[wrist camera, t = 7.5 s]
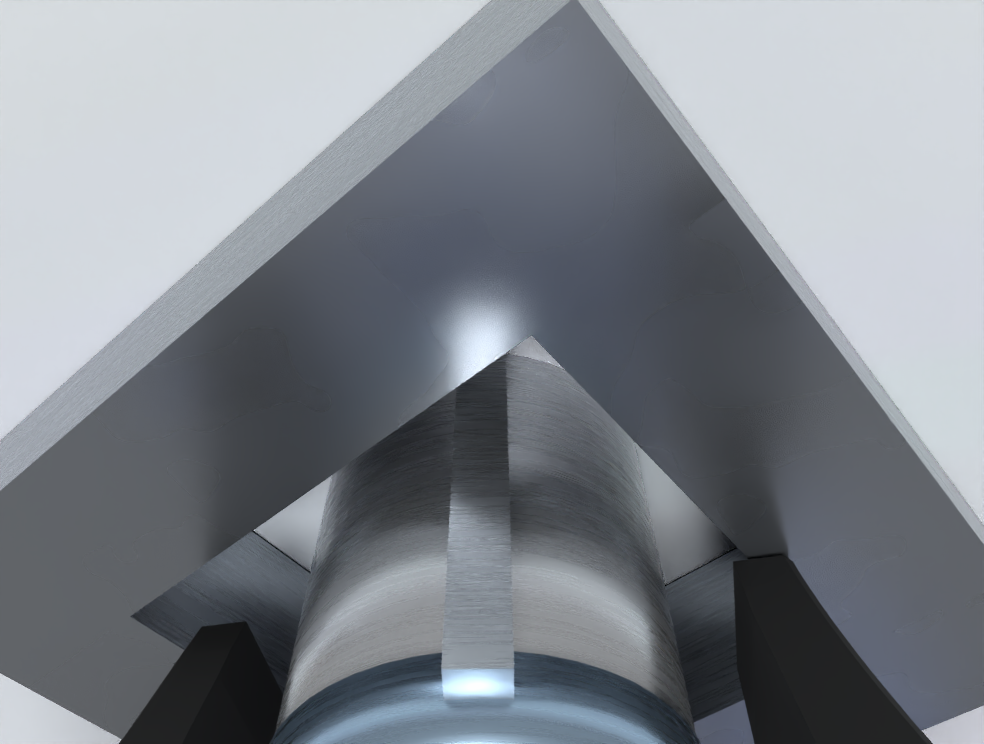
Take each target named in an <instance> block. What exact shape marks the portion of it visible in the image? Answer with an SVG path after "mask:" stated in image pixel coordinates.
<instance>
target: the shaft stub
mask: <svg viewBox="0 0 984 744" xmlns="http://www.w3.org/2000/svg"><path fill="white" fill-rule="evenodd" d="M270 744H701V743H700V740H699V739H698V737H697V736H696V732H695V727H694V722H693V718H692V713H691V708H690V703H689V699H688V694H687V689H686V684H685V680H684V675H683V670H682V665H681V661H680V656H679V651H678V646H677V642H676V637H675V632H674V627H673V623H672V618H671V613H670V608H669V604H668V599H667V594H666V589H665V585H664V580H663V575H662V570H661V566H660V561H659V556H658V552H657V547H656V542H655V537H654V533H653V528H652V523H651V518H650V514H649V509H648V504H647V499H646V495H645V490H644V485H643V480H642V476H641V471H640V466H639V461H638V457H637V452H636V447H635V444H634V441H633V439H632V438H631V437H630V436H629V435H628V434H627V433H626V432H625V431H624V430H623V429H622V428H621V427H620V426H619V425H618V424H617V423H616V422H615V421H614V420H613V419H612V418H611V417H610V416H609V414H608V413H607V412H606V411H605V410H604V409H603V408H602V407H601V406H600V405H599V404H598V403H597V402H596V401H595V400H594V399H593V398H592V397H591V396H590V395H589V394H588V393H587V392H586V391H585V390H584V389H583V388H582V387H581V386H580V385H579V384H578V383H577V381H576V380H575V379H574V378H573V377H572V376H571V375H570V374H569V373H568V372H567V371H566V370H564V369H561V368H559V367H556V366H554V365H551V364H549V363H546V362H542V361H538V360H534V359H531V358H527V357H521V356H514V355H507V354H506V353H505V354H504V355H502V356H501V357H499V358H498V359H497V360H495V361H494V362H492V363H491V364H489V365H488V366H487V367H485V368H484V369H482V370H481V371H479V372H478V373H477V374H475V375H474V376H472V377H471V378H469V379H468V380H467V381H465V382H464V383H462V384H461V385H459V386H458V387H457V388H455V389H454V390H452V391H451V392H449V393H448V394H447V395H445V396H444V397H442V398H441V399H439V400H438V401H437V402H435V403H434V404H432V405H431V406H430V407H428V408H427V409H425V410H424V411H422V412H421V413H420V414H418V415H417V416H415V417H414V418H412V419H411V420H410V421H408V422H407V423H405V424H404V425H402V426H401V427H400V428H398V429H397V430H395V431H394V432H392V433H391V434H390V435H388V436H387V437H385V438H384V439H382V440H381V441H380V442H378V443H377V444H375V445H374V446H372V447H371V448H370V449H368V450H367V451H365V452H364V453H362V454H361V455H360V456H358V457H357V458H355V459H354V460H353V461H351V462H350V463H348V464H347V465H345V466H344V467H343V468H341V469H340V470H338V471H337V472H335V473H334V474H333V475H332V477H331V481H330V486H329V490H328V495H327V500H326V504H325V509H324V513H323V518H322V522H321V527H320V531H319V536H318V540H317V545H316V549H315V554H314V558H313V563H312V568H311V572H310V577H309V581H308V586H307V590H306V595H305V599H304V604H303V608H302V613H301V617H300V622H299V626H298V631H297V636H296V640H295V645H294V649H293V654H292V658H291V663H290V667H289V672H288V676H287V681H286V685H285V690H284V694H283V699H282V703H281V708H280V713H279V717H278V722H277V726H276V731H275V735H274V737H273V738H272V740H271V742H270Z"/></svg>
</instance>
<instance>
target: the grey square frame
mask: <svg viewBox="0 0 984 744" xmlns="http://www.w3.org/2000/svg"><path fill="white" fill-rule="evenodd" d="M531 335H532V336H533V337H534V338H535V339H536V340H537V341H538V342H539V343H540V344H541V345H542V346H543V347H544V348H545V350H546V351H547V352H548V353H549V354H550V355H551V356H552V357H553V358H554V359H555V360H556V361H557V362H558V363H559V364H560V365H561V366H562V367H563V368H564V369H565V370H566V371H567V372H568V373H569V374H570V375H571V376H572V377H573V378H574V379H575V380H576V381H577V383H578V384H579V385H580V386H581V387H582V388H583V389H584V390H585V391H586V392H587V393H588V394H589V395H590V396H591V397H592V398H593V399H594V400H595V401H596V402H597V403H598V404H599V405H600V406H601V407H602V408H603V409H604V410H605V411H606V412H607V413H608V414H609V416H610V417H611V418H612V419H613V420H614V421H615V422H616V423H617V424H618V425H619V426H620V427H621V428H622V429H623V430H624V431H625V432H626V433H627V434H628V435H629V436H630V437H631V438H632V439H633V440H634V441H635V442H636V443H637V444H638V445H639V446H640V447H641V449H642V450H643V451H644V452H645V453H646V454H647V455H648V456H649V457H650V458H651V459H652V460H653V461H654V462H655V463H656V464H657V465H658V466H659V467H660V468H661V469H662V470H663V471H664V472H665V473H666V474H667V475H668V476H669V477H670V478H671V479H672V480H673V482H674V483H675V484H676V485H677V486H678V487H679V488H680V489H681V490H682V491H683V492H684V493H685V494H686V495H687V496H688V497H689V498H690V499H691V500H692V501H693V502H694V503H695V504H696V505H697V506H698V507H699V508H700V509H701V510H702V511H703V512H704V513H705V515H706V516H707V517H708V518H709V519H710V520H711V521H712V522H713V523H714V524H715V525H716V526H717V527H718V528H719V529H720V530H721V531H722V532H723V533H724V534H725V535H726V536H727V537H728V538H729V539H730V540H731V541H732V542H733V543H734V544H735V545H736V546H737V547H738V548H737V549H735V550H733V551H731V552H729V553H727V554H725V555H723V556H722V557H720V558H718V559H716V560H714V561H712V562H710V563H708V564H706V565H705V566H703V567H701V568H699V569H697V570H695V571H693V572H691V573H690V574H688V575H686V576H684V577H682V578H680V579H678V580H676V581H674V582H673V583H671V584H669V585H667V586H665V589H666V594H667V599H668V604H669V608H670V613H671V618H672V623H673V627H674V632H675V637H676V642H677V646H678V651H679V656H680V661H681V665H682V670H683V675H684V680H685V684H686V689H687V694H688V699H689V703H690V708H691V713H692V718H693V722H694V727H695V732H696V736H697V737H698V739H699V740H700V743H701V744H754V739H753V735H752V731H751V727H750V722H749V718H748V714H747V709H746V705H745V701H744V696H743V692H742V687H741V683H740V678H739V674H738V670H737V655H736V629H735V604H734V578H733V561H741V560H749V559H757V558H766V557H774V556H782V555H784V556H786V557H787V558H789V559H790V560H792V561H793V562H794V564H795V566H796V567H797V569H798V571H799V572H800V574H801V575H802V577H803V578H804V580H805V581H806V583H807V584H808V586H809V587H810V589H811V590H812V592H813V593H814V595H815V596H816V598H817V599H818V601H819V602H820V604H821V605H822V606H823V608H824V609H825V611H826V612H827V613H828V615H829V616H830V618H831V619H832V620H833V622H834V623H835V624H836V626H837V627H838V628H839V630H840V631H841V632H842V634H843V635H844V636H845V638H846V639H847V640H848V642H849V643H850V644H851V646H852V647H853V648H854V650H855V651H856V652H857V654H858V655H859V656H860V657H861V659H862V660H863V661H864V662H865V664H866V665H867V666H868V668H869V669H870V670H871V671H872V673H873V674H874V675H875V676H876V677H877V679H878V680H879V681H880V682H881V683H882V685H883V686H884V687H885V688H886V689H887V691H888V692H889V693H890V694H891V695H892V697H893V698H894V699H895V700H896V701H897V703H898V704H899V705H900V706H901V707H902V709H903V710H904V711H905V712H906V713H907V715H908V716H909V717H910V718H911V719H912V721H913V722H914V723H915V724H916V725H917V726H918V727H919V729H920V730H921V731H922V730H924V729H927V728H929V727H932V726H934V725H936V724H939V723H941V722H944V721H946V720H949V719H951V718H954V717H956V716H958V715H961V714H963V713H966V712H968V711H971V710H973V709H976V708H978V707H980V706H983V705H984V525H983V524H982V522H981V521H980V520H979V518H978V517H977V516H976V514H975V513H974V511H973V510H972V509H971V507H970V506H969V505H968V503H967V502H966V501H965V499H964V498H963V496H962V495H961V494H960V492H959V491H958V490H957V488H956V487H955V486H954V484H953V483H952V481H951V480H950V479H949V477H948V476H947V475H946V473H945V472H944V471H943V469H942V468H941V466H940V465H939V464H938V462H937V461H936V460H935V458H934V457H933V456H932V454H931V453H930V451H929V450H928V449H927V447H926V446H925V445H924V443H923V442H922V441H921V439H920V438H919V436H918V435H917V434H916V432H915V431H914V430H913V428H912V427H911V426H910V424H909V423H908V422H907V420H906V419H905V417H904V416H903V415H902V413H901V412H900V411H899V409H898V408H897V407H896V405H895V404H894V402H893V401H892V400H891V398H890V397H889V396H888V394H887V393H886V392H885V390H884V389H883V387H882V386H881V385H880V383H879V382H878V381H877V379H876V378H875V377H874V375H873V374H872V372H871V371H870V370H869V368H868V367H867V366H866V364H865V363H864V362H863V360H862V359H861V357H860V356H859V355H858V353H857V352H856V351H855V349H854V348H853V347H852V345H851V344H850V342H849V341H848V340H847V338H846V337H845V336H844V334H843V333H842V332H841V330H840V329H839V327H838V326H837V325H836V323H835V322H834V321H833V319H832V318H831V317H830V315H829V314H828V312H827V311H826V310H825V308H824V307H823V306H822V304H821V303H820V302H819V300H818V299H817V297H816V296H815V295H814V293H813V292H812V291H811V289H810V288H809V287H808V285H807V284H806V282H805V281H804V280H803V278H802V277H801V276H800V274H799V273H798V272H797V270H796V269H795V267H794V266H793V265H792V263H791V262H790V261H789V259H788V258H787V257H786V255H785V254H784V252H783V251H782V250H781V248H780V247H779V246H778V244H777V243H776V242H775V240H774V239H773V237H772V236H771V235H770V233H769V232H768V231H767V229H766V228H765V227H764V225H763V224H762V222H761V221H760V220H759V218H758V217H757V216H756V214H755V213H754V212H753V210H752V209H751V208H750V206H749V205H748V203H747V202H746V201H745V199H744V198H743V197H742V195H741V194H740V193H739V191H738V190H737V188H736V187H735V186H734V184H733V183H732V182H731V180H730V179H729V178H728V176H727V175H726V173H725V172H724V171H723V169H722V168H721V167H720V165H719V164H718V163H717V161H716V160H715V158H714V157H713V156H712V154H711V153H710V152H709V150H708V149H707V148H706V146H705V145H704V143H703V142H702V141H701V139H700V138H699V137H698V135H697V134H696V133H695V131H694V130H693V128H692V127H691V126H690V124H689V123H688V122H687V120H686V119H685V118H684V116H683V115H682V113H681V112H680V111H679V109H678V108H677V107H676V105H675V104H674V103H673V101H672V100H671V98H670V97H669V96H668V94H667V93H666V92H665V90H664V89H663V88H662V86H661V85H660V83H659V82H658V81H657V79H656V78H655V77H654V75H653V74H652V73H651V71H650V70H649V68H648V67H647V66H646V64H645V63H644V62H643V60H642V59H641V58H640V56H639V55H638V53H637V52H636V51H635V49H634V48H633V47H632V45H631V44H630V43H629V41H628V40H627V38H626V37H625V36H624V34H623V33H622V32H621V30H620V29H619V28H618V26H617V25H616V23H615V22H614V21H613V19H612V18H611V17H610V15H609V14H608V13H607V11H606V10H605V8H604V7H603V6H602V4H601V3H600V2H599V0H491V1H490V2H489V3H488V4H487V5H486V6H485V7H483V8H482V9H481V10H480V11H479V12H478V13H477V14H476V15H475V16H473V17H472V18H471V19H470V20H469V21H468V22H467V23H466V24H464V25H463V26H462V27H461V28H460V29H459V30H458V31H457V32H456V33H454V34H453V35H452V36H451V37H450V38H449V39H448V40H447V41H446V42H444V43H443V44H442V45H441V46H440V47H439V48H438V49H437V50H435V51H434V52H433V53H432V54H431V55H430V56H429V57H428V58H427V59H425V60H424V61H423V62H422V63H421V64H420V65H419V66H418V67H417V68H415V69H414V70H413V71H412V72H411V73H410V74H409V75H408V76H407V77H405V78H404V79H403V80H402V81H401V82H400V83H399V84H398V85H396V86H395V87H394V88H393V89H392V90H391V91H390V92H389V93H388V94H386V95H385V96H384V97H383V98H382V99H381V100H380V101H379V102H378V103H376V104H375V105H374V106H373V107H372V108H371V109H370V110H369V111H367V112H366V113H365V114H364V115H363V116H362V117H361V118H360V119H359V120H357V121H356V122H355V123H354V124H353V125H352V126H351V127H350V128H349V129H347V130H346V131H345V132H344V133H343V134H342V135H341V136H340V137H338V138H337V139H336V140H335V141H334V142H333V143H332V144H331V145H330V146H328V147H327V148H326V149H325V150H324V151H323V152H322V153H321V154H320V155H318V156H317V157H316V158H315V159H314V160H313V161H312V162H311V163H309V164H308V165H307V166H306V167H305V168H304V169H303V170H302V171H301V172H299V173H298V174H297V175H296V176H295V177H294V178H293V179H292V180H291V181H289V182H288V183H287V184H286V185H285V186H284V187H283V188H282V189H280V190H279V191H278V192H277V193H276V194H275V195H274V196H273V197H272V198H270V199H269V200H268V201H267V202H266V203H265V204H264V205H263V206H262V207H260V208H259V209H258V210H257V211H256V212H255V213H254V214H253V215H252V216H250V217H249V218H248V219H247V220H246V221H245V222H244V223H243V224H241V225H240V226H239V227H238V228H237V229H236V230H235V231H234V232H233V233H231V234H230V235H229V236H228V237H227V238H226V239H225V240H224V241H223V242H221V243H220V244H219V245H218V246H217V247H216V248H215V249H214V250H212V251H211V252H210V253H209V254H208V255H207V256H206V257H205V258H204V259H202V260H201V261H200V262H199V263H198V264H197V265H196V266H195V267H194V268H192V269H191V270H190V271H189V272H188V273H187V274H186V275H185V276H183V277H182V278H181V279H180V280H179V281H178V282H177V283H176V284H175V285H173V286H172V287H171V288H170V289H169V290H168V291H167V292H166V293H165V294H163V295H162V296H161V297H160V298H159V299H158V300H157V301H156V302H154V303H153V304H152V305H151V306H150V307H149V308H148V309H147V310H146V311H144V312H143V313H142V314H141V315H140V316H139V317H138V318H137V319H136V320H134V321H133V322H132V323H131V324H130V325H129V326H128V327H127V328H126V329H124V330H123V331H122V332H121V333H120V334H119V335H118V336H117V337H115V338H114V339H113V340H112V341H111V342H110V343H109V344H108V345H107V346H105V347H104V348H103V349H102V350H101V351H100V352H99V353H98V354H97V355H95V356H94V357H93V358H92V359H91V360H90V361H89V362H88V363H86V364H85V365H84V366H83V367H82V368H81V369H80V370H79V371H78V372H76V373H75V374H74V375H73V376H72V377H71V378H70V379H69V380H68V381H66V382H65V383H64V384H63V385H62V386H61V387H60V388H59V389H57V390H56V391H55V392H54V393H53V394H52V395H51V396H50V397H49V398H47V399H46V400H45V401H44V402H43V403H42V404H41V405H40V406H39V407H37V408H36V409H35V410H34V411H33V412H32V413H31V414H30V415H28V416H27V417H26V418H25V419H24V420H23V421H22V422H21V423H20V424H18V425H17V426H16V427H15V428H14V429H13V430H12V431H11V432H10V433H8V434H7V435H6V436H5V437H4V438H3V439H2V440H1V441H0V673H1V674H3V675H5V676H6V677H8V678H10V679H12V680H14V681H16V682H18V683H19V684H21V685H23V686H25V687H27V688H29V689H30V690H32V691H34V692H36V693H38V694H40V695H41V696H43V697H45V698H47V699H49V700H51V701H53V702H54V703H56V704H58V705H60V706H62V707H64V708H65V709H67V710H69V711H71V712H73V713H75V714H76V715H78V716H80V717H82V718H84V719H86V720H87V721H89V722H91V723H93V724H95V725H97V726H99V727H100V728H102V729H104V730H106V731H108V732H110V733H111V734H113V735H115V736H117V737H119V738H121V739H123V737H124V736H125V734H126V733H127V732H128V730H129V729H130V727H131V726H132V725H133V723H134V722H135V720H136V719H137V717H138V716H139V715H140V713H141V712H142V710H143V709H144V707H145V706H146V705H147V703H148V702H149V700H150V699H151V697H152V696H153V695H154V693H155V692H156V690H157V689H158V687H159V686H160V684H161V683H162V682H163V680H164V679H165V677H166V676H167V674H168V673H169V671H170V670H171V669H172V667H173V666H174V664H175V663H176V661H177V660H178V659H179V657H180V656H181V654H182V653H183V651H184V650H185V649H186V647H187V646H188V644H189V643H190V642H191V640H192V639H193V637H194V636H195V635H196V633H197V632H198V631H199V629H200V628H201V627H202V626H210V625H218V624H227V623H235V622H243V621H246V622H247V624H248V626H249V628H250V630H251V632H252V634H253V636H254V638H255V640H256V642H257V644H258V646H259V648H260V650H261V652H262V654H263V656H264V658H265V660H266V662H267V664H268V665H269V667H270V669H271V671H272V673H273V675H274V677H275V679H276V681H277V683H278V685H279V687H280V689H281V691H282V693H283V694H284V690H285V685H286V681H287V676H288V672H289V667H290V663H291V658H292V654H293V649H294V645H295V640H296V636H297V631H298V626H299V622H300V617H301V613H302V608H303V604H304V599H305V595H306V590H307V586H308V581H309V577H310V573H309V572H308V571H306V570H305V569H303V568H302V567H301V566H299V565H298V564H297V563H295V562H294V561H292V560H291V559H290V558H288V557H287V556H285V555H284V554H283V553H281V552H280V551H279V550H277V549H276V548H274V547H273V546H272V545H270V544H269V543H267V542H266V541H265V540H263V539H262V538H261V537H259V536H258V535H256V534H255V533H254V532H252V531H253V530H254V529H256V528H257V527H258V526H260V525H261V524H263V523H264V522H266V521H267V520H268V519H270V518H271V517H273V516H274V515H276V514H277V513H278V512H280V511H281V510H283V509H284V508H285V507H287V506H288V505H290V504H291V503H293V502H294V501H295V500H297V499H298V498H300V497H301V496H303V495H304V494H305V493H307V492H308V491H310V490H311V489H313V488H314V487H315V486H317V485H318V484H320V483H321V482H323V481H324V480H325V479H327V478H328V477H330V476H331V475H333V474H334V473H335V472H337V471H338V470H340V469H341V468H343V467H344V466H345V465H347V464H348V463H350V462H351V461H353V460H354V459H355V458H357V457H358V456H360V455H361V454H362V453H364V452H365V451H367V450H368V449H370V448H371V447H372V446H374V445H375V444H377V443H378V442H380V441H381V440H382V439H384V438H385V437H387V436H388V435H390V434H391V433H392V432H394V431H395V430H397V429H398V428H400V427H401V426H402V425H404V424H405V423H407V422H408V421H410V420H411V419H412V418H414V417H415V416H417V415H418V414H420V413H421V412H422V411H424V410H425V409H427V408H428V407H430V406H431V405H432V404H434V403H435V402H437V401H438V400H439V399H441V398H442V397H444V396H445V395H447V394H448V393H449V392H451V391H452V390H454V389H455V388H457V387H458V386H459V385H461V384H462V383H464V382H465V381H467V380H468V379H469V378H471V377H472V376H474V375H475V374H477V373H478V372H479V371H481V370H482V369H484V368H485V367H487V366H488V365H489V364H491V363H492V362H494V361H495V360H497V359H498V358H499V357H501V356H502V355H504V354H505V353H507V352H508V351H509V350H511V349H512V348H514V347H515V346H516V345H518V344H519V343H521V342H522V341H524V340H525V339H526V338H528V337H529V336H531Z"/></svg>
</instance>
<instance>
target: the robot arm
mask: <svg viewBox="0 0 984 744" xmlns="http://www.w3.org/2000/svg"><path fill="white" fill-rule="evenodd" d="M733 578H734V604H735V629H736V655H737V670H738V674H739V678H740V683H741V687H742V692H743V696H744V701H745V705H746V709H747V714H748V718H749V722H750V727H751V731H752V735H753V739H754V744H933V743H932V742H931V741H930V740H929V739H928V738H927V737H926V735H925V734H924V733H923V732H922V731H921V730H920V729H919V727H918V726H917V725H916V724H915V723H914V722H913V721H912V719H911V718H910V717H909V716H908V715H907V713H906V712H905V711H904V710H903V709H902V707H901V706H900V705H899V704H898V703H897V701H896V700H895V699H894V698H893V697H892V695H891V694H890V693H889V692H888V691H887V689H886V688H885V687H884V686H883V685H882V683H881V682H880V681H879V680H878V679H877V677H876V676H875V675H874V674H873V673H872V671H871V670H870V669H869V668H868V666H867V665H866V664H865V662H864V661H863V660H862V659H861V657H860V656H859V655H858V654H857V652H856V651H855V650H854V648H853V647H852V646H851V644H850V643H849V642H848V640H847V639H846V638H845V636H844V635H843V634H842V632H841V631H840V630H839V628H838V627H837V626H836V624H835V623H834V622H833V620H832V619H831V618H830V616H829V615H828V613H827V612H826V611H825V609H824V608H823V606H822V605H821V604H820V602H819V601H818V599H817V598H816V596H815V595H814V593H813V592H812V590H811V589H810V587H809V586H808V584H807V583H806V581H805V580H804V578H803V577H802V575H801V574H800V572H799V571H798V569H797V567H796V566H795V564H794V562H793V561H792V560H790V559H789V558H787V557H786V556H784V555H782V556H774V557H766V558H757V559H749V560H741V561H733ZM282 699H283V693H282V691H281V689H280V687H279V685H278V683H277V681H276V679H275V677H274V675H273V673H272V671H271V669H270V667H269V665H268V664H267V662H266V660H265V658H264V656H263V654H262V652H261V650H260V648H259V646H258V644H257V642H256V640H255V638H254V636H253V634H252V632H251V630H250V628H249V626H248V624H247V622H246V621H243V622H235V623H227V624H218V625H210V626H202V627H201V628H200V629H199V631H198V632H197V633H196V635H195V636H194V637H193V639H192V640H191V642H190V643H189V644H188V646H187V647H186V649H185V650H184V651H183V653H182V654H181V656H180V657H179V659H178V660H177V661H176V663H175V664H174V666H173V667H172V669H171V670H170V671H169V673H168V674H167V676H166V677H165V679H164V680H163V682H162V683H161V684H160V686H159V687H158V689H157V690H156V692H155V693H154V695H153V696H152V697H151V699H150V700H149V702H148V703H147V705H146V706H145V707H144V709H143V710H142V712H141V713H140V715H139V716H138V717H137V719H136V720H135V722H134V723H133V725H132V726H131V727H130V729H129V730H128V732H127V733H126V734H125V736H124V737H123V739H122V740H121V741H120V743H119V744H270V742H271V740H272V738H273V737H274V735H275V731H276V726H277V722H278V717H279V713H280V708H281V703H282Z"/></svg>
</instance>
